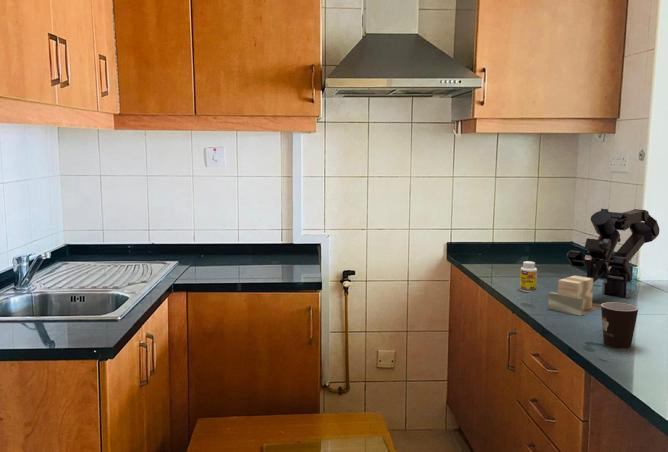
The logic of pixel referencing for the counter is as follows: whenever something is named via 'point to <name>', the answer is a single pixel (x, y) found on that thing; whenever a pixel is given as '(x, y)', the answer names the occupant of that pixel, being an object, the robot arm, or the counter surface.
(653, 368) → the counter surface
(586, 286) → the block
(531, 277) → the supplement bottle
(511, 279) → the counter surface
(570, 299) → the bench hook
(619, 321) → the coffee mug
